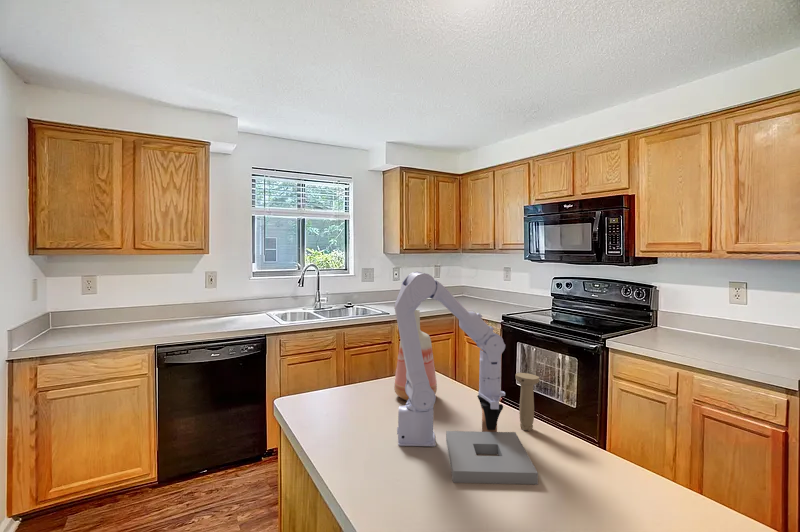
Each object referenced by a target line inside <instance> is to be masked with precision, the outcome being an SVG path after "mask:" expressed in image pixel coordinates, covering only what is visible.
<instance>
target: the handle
mask: <svg viewBox="0 0 800 532" xmlns="http://www.w3.org/2000/svg"><path fill="white" fill-rule="evenodd" d="M515 380H516V381H518V382H519V384H520V395H519V396H520V397H519V407H518V408H519V414H518V415H519V422H520V423H519V426H520V429H521V430H522V431H528V432H530V431H532V430H533V429H534V425H533V424H534V419H535V397H534V385H537V384H538V383H539V382H540V376H538V375H536V374H531V373H527V372H518V373H515Z"/></svg>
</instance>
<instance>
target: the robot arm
mask: <svg viewBox="0 0 800 532" xmlns="http://www.w3.org/2000/svg"><path fill="white" fill-rule="evenodd" d="M427 299H431V300H435V301H438V302H439V303H441V304H442V306H443V307H445V308H446V309H447V310H448V311H449V312H450V313H451V314H452V315H453V316H454V317H456V318H457V320H458V326H459V328H460V330H462V331H463V332H464V333H465V334H466V336H468V337H469V338H470V339H471V340H472V341H473V342H474V343H475V344H476V347H477V348H479V373H478V374H479V377H478V379H479V381H478V383H479V385H478V389H479V390H478V395H477V396H476V397H477V399H478V401H479V403H480V408H481V409H482V408H483V410H484V414H485V421H486V427H487V430H495V429H496V425H497V426H498V421H499V418H500V417H499V416H500V414H501V412H502V411H503V410H504V405H503V404H502V403H500V400H501V398H502V397H505V396H506V392H505V391H503V390H502V354H503V353H504V351H505V349H506V344H505V342H504V339H503V337H502V336H501V335H500V334H498V333H495V332H494V330H495V329H494V327H493V326H491V325H488V324H487V323H486V322H485V321H484V320H483V319H482V318H483V315H482V314H481V313H480V312H475V311H473V310H472V311H467V309H466V308H465V307H464V306H463V305H462V304H461V303H460V302H459V301H458V299H456V297H455V296H453V294H452V293H451V292H450V291H449V290H448V289H447V288H446V287H445V286H444V285H443V284H442V283H441V282H440V281H438V280H437V279H435V278H434V277H433V276H432V275H431V274H429V273H425V272H424V273H423V272H420V271H413V272H411V273H409V274H408V275H407V276H406V277H405V278H404V279H403V281H402V282H401V286H400V290H399V292H398V294H397V297H396V300H395V302H394V312H395V318H396V322H397V328H398V329H397V330H398V333H399V337H400V338H399V340H401V344H402V350H403V355H404V360H405V365H406V378H407V381H406V385H405V392H406V394H407V395H408V396H409V399H408V400H406V403H405V405H404V404H403V405H399V406H398V416H397V417H398V418H397V419H398V420H397V423H398V425H397V428H396V435H397V442H398V443H397V445H398V446H399V447H405V446H406V447H436V437H435V431H434V406H435V405H434V404H435V403H436V394H435V393H434V391H433V390H432V389H431V387H430V384H429V380H428V377H427V374H426V371H425V367H424V361H423V356H422V351H421V345H420V340H419V335H418V329H417V324H416V319H415V313H414V311H415V310H418V307H419V306H420V305H421V303H422V302H424V301H426V300H427Z"/></svg>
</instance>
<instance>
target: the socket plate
mask: <svg viewBox="0 0 800 532" xmlns="http://www.w3.org/2000/svg"><path fill="white" fill-rule="evenodd" d="M445 432H446V433H445V439H446V440H445V442H446V448H447V453H448V454H447V455H448V459H449V466H450V470H451V471H450V472H451V477H452V483H453V484H454V483H457V484H458V483H459V484H503V485H504V484H505V485H539V483H538V482H539V481H538V480H539V472H538V471H537V469H536V467H535V465H534V463H533V461H532V460H531V458H530V456H529V454H528V452H527V451H526V449H525V446H524V445H523V444H522V442H521V440H520V438H519V436H518V434H517V432H516V431H515V432H514V431H512V432H511V431H497V432H482V431H475V430H474V431H471V430H469V431H468V430H465V431H464V430H460V431H459V430H446V431H445ZM477 454H478V455H477Z"/></svg>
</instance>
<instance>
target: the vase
mask: <svg viewBox="0 0 800 532" xmlns="http://www.w3.org/2000/svg"><path fill="white" fill-rule="evenodd" d="M420 312H421V311H420V310H418V309H416V310H415V311H414V313H415V319H416V324H417V329H418V335H419V340H420V345H421V351H422V356H423V361H424V367H425V371H426V374H427V377H428V380H429V384H430V387H431V389H432V390H433V391H434V393H435V395H436V393H437V391H438V385H437V375H436V368H435V361H434V360H435V359H434V353H433V345H432V339H431V337H430V335H429V334H428V333H426V332H424V331H422V330H421V316H420V315H421V313H420ZM399 340H400V341H399V347H398V355H397V363H396V369H395V374H394V375H395V376H394V386H393V387H394V393H395V395H396V396H397V397H399V398H400V399H402V400H404V401H407V400H408V399H409V396H408V395H407V394H406V392H405V385H406V381H407V378H406V365H405V360H404V355H403V350H402V344H401V339H399Z"/></svg>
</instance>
